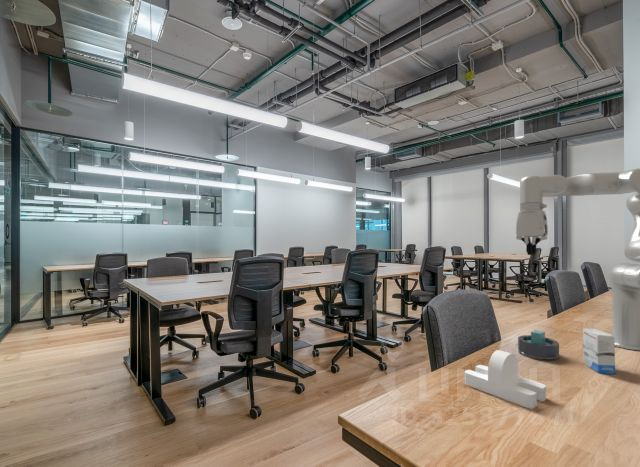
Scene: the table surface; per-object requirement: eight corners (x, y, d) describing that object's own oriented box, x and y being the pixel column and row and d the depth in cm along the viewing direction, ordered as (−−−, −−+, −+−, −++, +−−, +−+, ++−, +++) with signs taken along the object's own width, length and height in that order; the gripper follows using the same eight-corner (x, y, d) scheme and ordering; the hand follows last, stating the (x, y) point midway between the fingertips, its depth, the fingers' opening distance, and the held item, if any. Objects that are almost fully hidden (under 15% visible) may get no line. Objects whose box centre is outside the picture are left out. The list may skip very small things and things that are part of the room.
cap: (531, 346, 127) (531, 327, 127) (554, 352, 121) (554, 332, 121) (522, 350, 123) (522, 331, 123) (545, 356, 117) (545, 336, 117)
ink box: (616, 374, 105) (616, 336, 105) (597, 373, 106) (597, 335, 106) (599, 364, 113) (599, 328, 113) (582, 363, 114) (582, 327, 114)
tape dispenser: (531, 410, 84) (531, 366, 84) (462, 384, 98) (462, 346, 98) (547, 399, 89) (547, 357, 89) (480, 376, 104) (480, 340, 104)
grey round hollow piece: (526, 346, 131) (526, 333, 131) (563, 355, 121) (563, 341, 121) (512, 353, 123) (512, 339, 123) (550, 363, 114) (550, 348, 114)
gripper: (556, 207, 131) (556, 255, 131) (515, 209, 143) (515, 253, 143) (549, 206, 127) (549, 256, 127) (507, 208, 138) (507, 254, 138)
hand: (531, 254), depth 135 cm, fingers closed
